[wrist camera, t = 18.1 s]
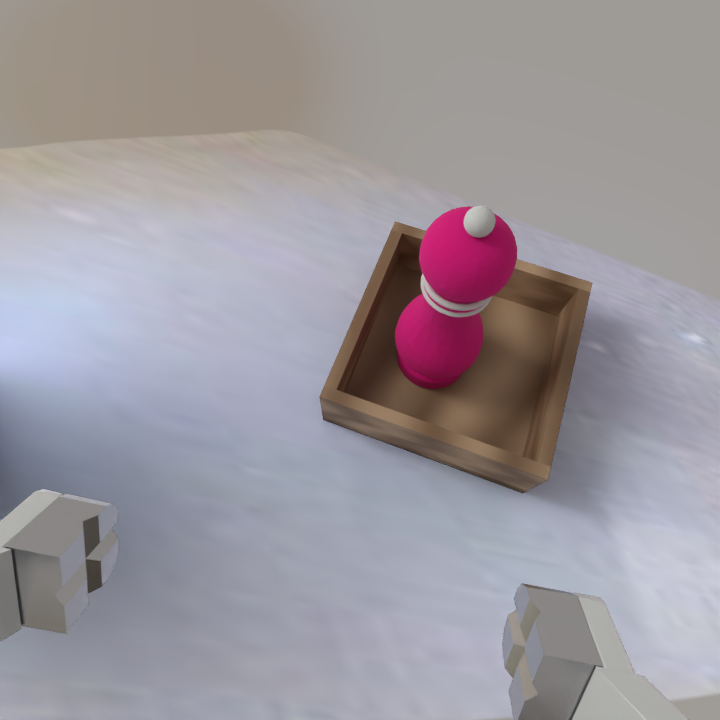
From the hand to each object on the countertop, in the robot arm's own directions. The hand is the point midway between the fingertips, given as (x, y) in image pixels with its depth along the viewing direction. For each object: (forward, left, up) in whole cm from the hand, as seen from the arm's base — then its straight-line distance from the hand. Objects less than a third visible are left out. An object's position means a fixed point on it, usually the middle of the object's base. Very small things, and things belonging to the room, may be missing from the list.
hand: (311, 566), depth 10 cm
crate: (+3, +21, -33) cm, 39 cm away
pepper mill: (+1, +20, -32) cm, 38 cm away
